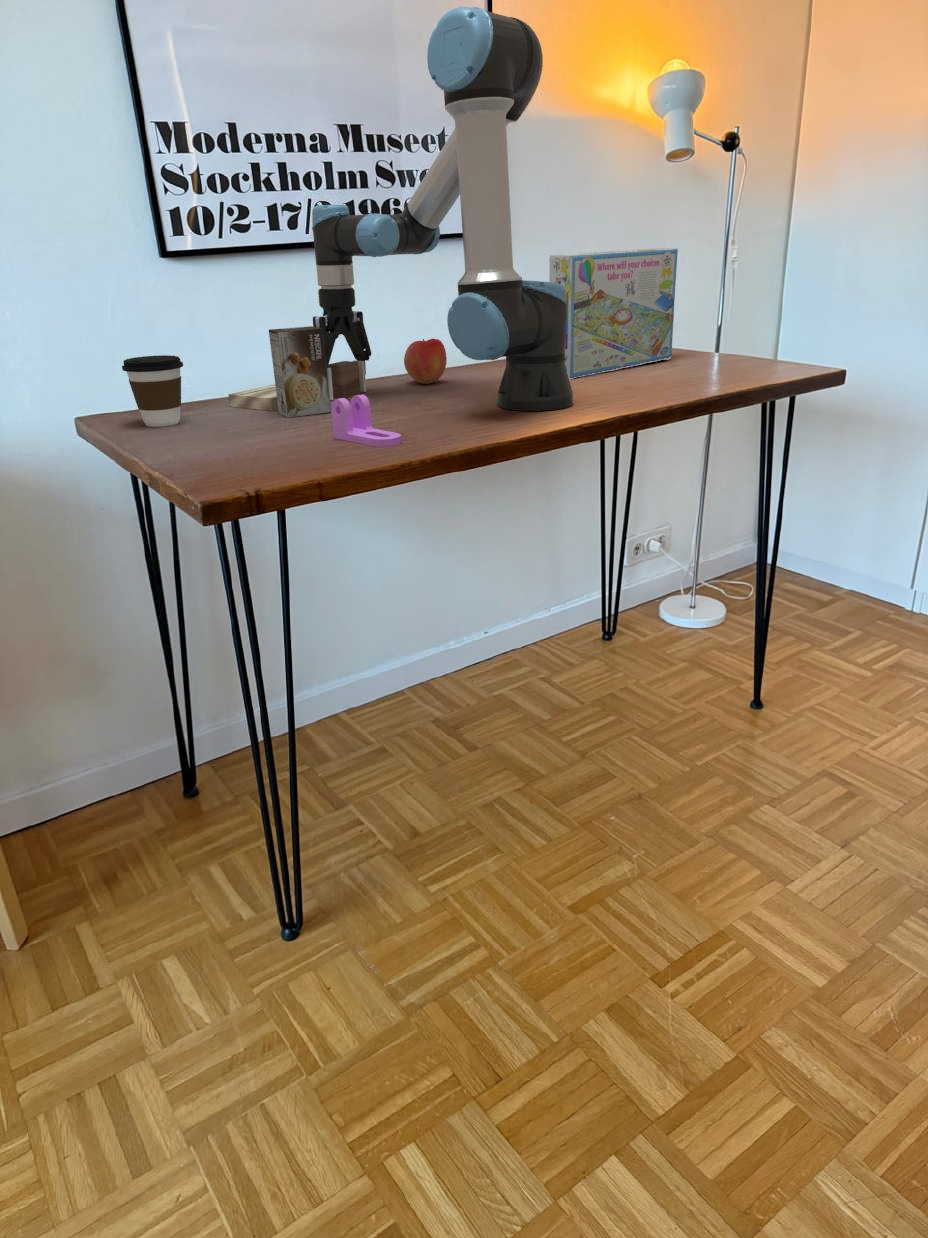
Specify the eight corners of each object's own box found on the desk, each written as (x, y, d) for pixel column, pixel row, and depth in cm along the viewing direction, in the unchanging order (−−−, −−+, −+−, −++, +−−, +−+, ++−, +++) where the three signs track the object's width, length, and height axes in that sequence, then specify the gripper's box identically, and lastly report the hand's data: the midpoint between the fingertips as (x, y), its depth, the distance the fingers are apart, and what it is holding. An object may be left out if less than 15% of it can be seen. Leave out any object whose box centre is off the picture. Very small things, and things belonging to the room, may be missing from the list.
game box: (650, 358, 230) (656, 247, 219) (671, 361, 226) (679, 247, 215) (547, 377, 206) (548, 253, 195) (569, 380, 201) (572, 253, 190)
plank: (353, 390, 194) (352, 379, 193) (272, 411, 174) (270, 397, 173) (312, 387, 200) (311, 376, 199) (230, 406, 180) (228, 393, 179)
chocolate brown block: (360, 394, 190) (358, 361, 187) (343, 399, 185) (340, 365, 182) (311, 390, 197) (308, 358, 194) (294, 394, 192) (290, 362, 189)
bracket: (334, 438, 150) (330, 398, 147) (358, 433, 154) (355, 393, 151) (383, 449, 142) (380, 406, 139) (408, 443, 145) (406, 401, 142)
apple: (440, 379, 207) (438, 335, 203) (452, 384, 199) (450, 339, 195) (401, 381, 204) (398, 337, 200) (411, 387, 196) (409, 342, 192)
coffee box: (321, 408, 176) (313, 325, 170) (331, 413, 171) (324, 327, 164) (277, 413, 172) (267, 328, 166) (286, 418, 167) (277, 331, 161)
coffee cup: (158, 431, 158) (147, 364, 153) (120, 426, 164) (107, 361, 159) (204, 420, 167) (194, 356, 162) (165, 416, 172) (155, 353, 167)
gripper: (356, 283, 190) (363, 385, 199) (284, 290, 172) (295, 402, 181) (383, 283, 186) (389, 388, 195) (312, 291, 169) (322, 405, 178)
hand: (344, 395), depth 188 cm, fingers open, 11 cm apart
